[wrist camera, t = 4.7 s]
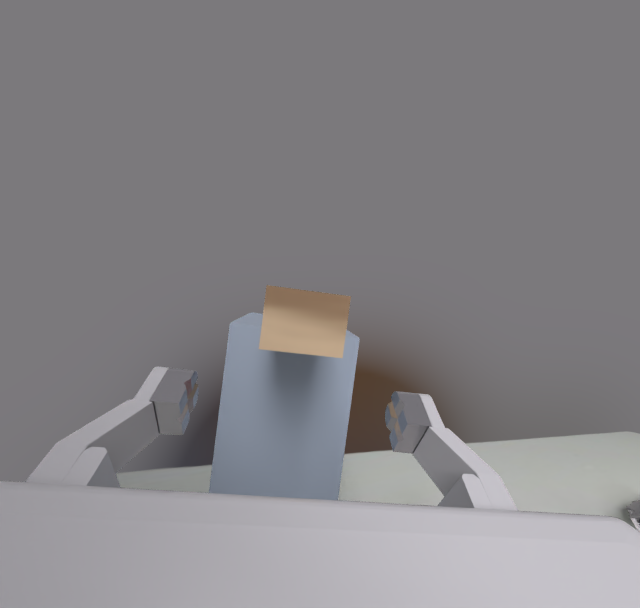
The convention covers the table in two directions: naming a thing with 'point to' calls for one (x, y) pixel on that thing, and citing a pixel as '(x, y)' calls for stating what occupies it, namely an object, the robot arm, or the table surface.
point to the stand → (281, 418)
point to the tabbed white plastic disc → (635, 513)
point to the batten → (304, 322)
